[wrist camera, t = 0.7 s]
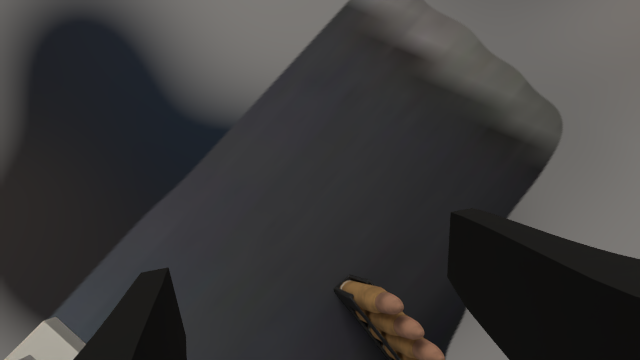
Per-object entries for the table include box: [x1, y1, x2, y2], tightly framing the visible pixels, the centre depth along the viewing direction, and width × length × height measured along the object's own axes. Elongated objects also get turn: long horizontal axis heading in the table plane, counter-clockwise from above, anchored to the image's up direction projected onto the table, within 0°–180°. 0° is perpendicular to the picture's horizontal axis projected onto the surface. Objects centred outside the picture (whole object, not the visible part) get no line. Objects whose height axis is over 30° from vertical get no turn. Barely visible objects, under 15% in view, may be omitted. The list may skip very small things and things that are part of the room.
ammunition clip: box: [334, 275, 445, 360], centre depth 29 cm, size 11×2×12 cm, turn 39°
